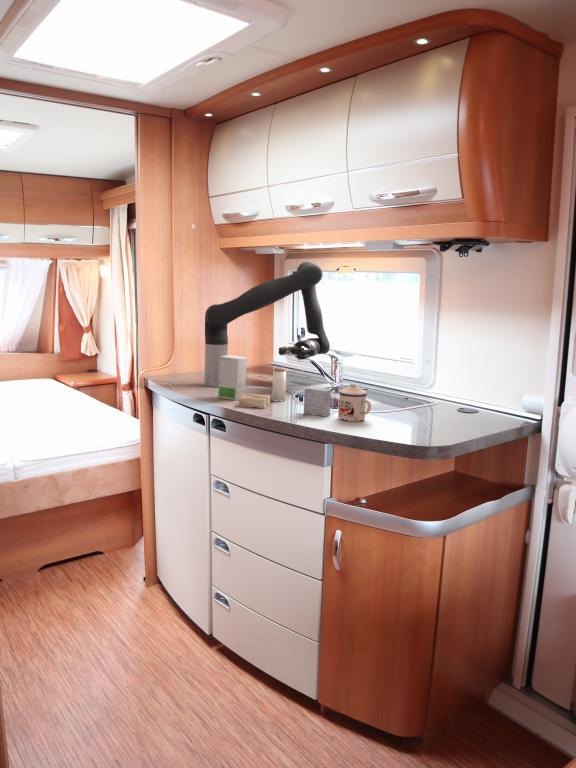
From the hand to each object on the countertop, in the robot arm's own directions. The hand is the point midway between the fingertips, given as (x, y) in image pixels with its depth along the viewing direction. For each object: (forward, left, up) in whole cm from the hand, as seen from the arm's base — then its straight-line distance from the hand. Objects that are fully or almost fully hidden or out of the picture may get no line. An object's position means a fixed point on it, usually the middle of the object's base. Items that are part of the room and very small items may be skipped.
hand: (291, 353), depth 235 cm
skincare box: (+14, -19, -17) cm, 29 cm away
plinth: (+24, -8, -17) cm, 30 cm away
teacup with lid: (+35, +28, -17) cm, 48 cm away
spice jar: (+11, -2, -17) cm, 20 cm away
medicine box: (+31, +15, -17) cm, 38 cm away
